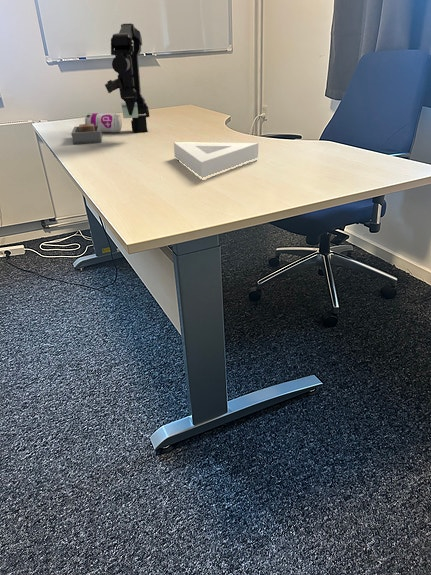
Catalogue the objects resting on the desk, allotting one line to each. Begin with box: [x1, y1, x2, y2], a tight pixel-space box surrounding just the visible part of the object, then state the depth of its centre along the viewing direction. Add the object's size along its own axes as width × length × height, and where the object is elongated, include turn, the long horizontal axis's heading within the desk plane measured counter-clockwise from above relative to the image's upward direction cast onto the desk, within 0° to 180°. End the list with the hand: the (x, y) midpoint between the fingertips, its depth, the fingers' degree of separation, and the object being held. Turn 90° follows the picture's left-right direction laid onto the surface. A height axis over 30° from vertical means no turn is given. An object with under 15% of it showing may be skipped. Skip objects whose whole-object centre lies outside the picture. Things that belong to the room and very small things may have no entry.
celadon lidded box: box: [120, 102, 139, 119], centre depth 175 cm, size 6×6×5 cm
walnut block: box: [77, 123, 95, 132], centre depth 185 cm, size 6×6×5 cm
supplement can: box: [84, 112, 123, 134], centre depth 198 cm, size 8×8×15 cm
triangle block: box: [173, 141, 259, 178], centre depth 146 cm, size 30×26×6 cm
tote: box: [71, 125, 103, 145], centre depth 185 cm, size 11×15×4 cm
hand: (130, 113), depth 176 cm, fingers closed on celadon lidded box, 6 cm apart
